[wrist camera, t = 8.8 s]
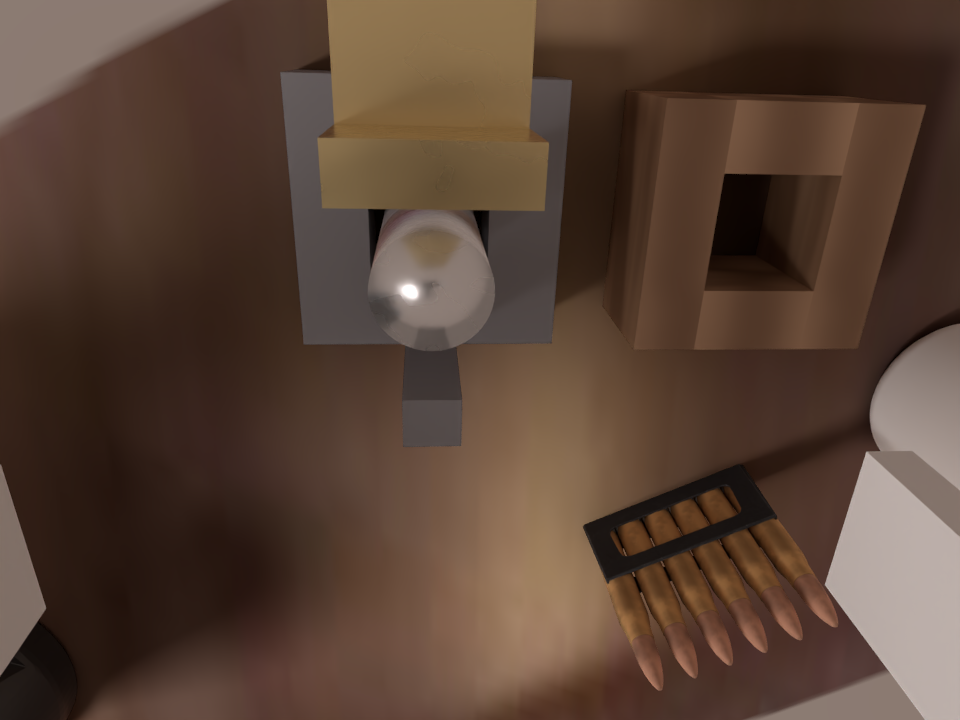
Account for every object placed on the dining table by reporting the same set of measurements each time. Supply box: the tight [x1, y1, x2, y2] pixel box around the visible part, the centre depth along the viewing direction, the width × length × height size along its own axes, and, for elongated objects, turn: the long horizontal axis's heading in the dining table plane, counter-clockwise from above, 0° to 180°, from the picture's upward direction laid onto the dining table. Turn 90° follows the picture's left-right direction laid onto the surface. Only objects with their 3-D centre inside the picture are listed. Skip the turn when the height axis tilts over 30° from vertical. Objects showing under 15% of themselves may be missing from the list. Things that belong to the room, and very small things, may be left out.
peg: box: [368, 209, 495, 351], centre depth 28 cm, size 4×4×14 cm
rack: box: [603, 90, 926, 350], centre depth 33 cm, size 11×11×6 cm
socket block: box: [280, 70, 572, 447], centre depth 28 cm, size 12×12×14 cm
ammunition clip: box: [583, 464, 838, 691], centre depth 38 cm, size 11×2×12 cm, turn 113°
